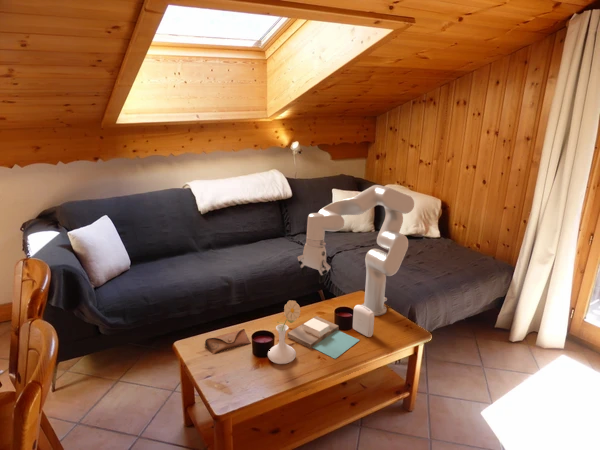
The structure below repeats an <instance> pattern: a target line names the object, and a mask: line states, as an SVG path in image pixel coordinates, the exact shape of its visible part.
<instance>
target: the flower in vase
mask: <svg viewBox="0 0 600 450" xmlns="http://www.w3.org/2000/svg"><path fill="white" fill-rule="evenodd" d="M283 309H284V310H283V312H284V315H283V316H285V318H286V319H285V320H284V321H285V322H279V321H277V322H276V323H277V324H278V325H276V326H275V330H276V331H277V333H278V343H277V344H275V345H273V346H272V347H271V348H270V349H269V350H270V351H269V350H268V351H267V358H268V359H269V360H270V361H271V362H273V363H274V364H278V365H285V364H288V363H291V362H293V361H294V360H295V358H296V357H297V352H296V350H295V349H294V348H293V347H292V346H291V345H289V344H287V343H286V334H287V331H288V330H289V326H288V325H287V324H286V323H287V322H288V323H290V324H292V323H294V322H295V321H297V319H299V318H300V316H301V311H302V310H301V307H300V305H299V304H298V303H297V301H296V300H288V301H287V303H286V304H284V308H283Z"/></svg>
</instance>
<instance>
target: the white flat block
mask: <svg viewBox="0 0 600 450" xmlns="http://www.w3.org/2000/svg"><path fill="white" fill-rule="evenodd" d="M312 318H313V319H312ZM312 318H310V319H311V320H310V319H309V320H307V321H308V322H307V321H305V322H306V323H305V322H303V323H304V324H303V323H302V324H303V330H304V331H307V332H309V333H311V334H313V335H315V336H317V337H321V336H323V335H324V334H326V333H327V332H329V325H328V324H326V323H324V322H321V321H319V320H317V319H315V318H314V317H312Z"/></svg>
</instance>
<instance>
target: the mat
mask: <svg viewBox="0 0 600 450" xmlns="http://www.w3.org/2000/svg"><path fill="white" fill-rule="evenodd" d="M360 340H361V339H359V338H357V337H353V336H352V335H350V334H347V333H345V332H343V331H341V330H336V331H335V332H334V333H332V334H331V335H329V336H328V337H326V338H325V339H323V340H322V341H320V342H319V343H317V344H316V345H314V346H313V347H312V348H311V349H314V350H316V351H317V352H320V353H322V354H324V355H326V356H328V357H330V358H332V359H334V360H336V359H338V358H339V357H341V356H342V355H343V354H344V353H345V352H347V351H348V350H349V349H350V348H352V347H353V346H355V345H356V344H357V343H359V342H360Z"/></svg>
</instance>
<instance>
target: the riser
mask: <svg viewBox="0 0 600 450" xmlns="http://www.w3.org/2000/svg"><path fill="white" fill-rule="evenodd" d="M313 318H315V319H317V320H319V321H321V322H324V323H326V324H328V325H329V332H327V333H326V334H324V335H323V336H321V337H317V336H315V335H313V334H311V333H309V332H307V331H304V330H303V324H304V323H306V322H308V321H309V320H311V319H313ZM309 320H307V321H305V322H303V323H302V324H300V325H299V326H297V327H296V328H293V329H291V330H290V331H288V332H287V338H289V339H291V340H293V341H295V342H297V343H299V344H301V345H303V346H305V347H307V348H308V349H313V348H312V347H313V346H314V345H316V344H317V343H319V342H320V341H322V340H323V339H325V338H326V337H328V336H329V335H331V334H332V333H334V332H335V331H336V330H338V331H340V329H339V325H338V324H335V323H333V322H331V321H329V320H327V319H324V318H322V317H320V316H318V315H316V316H314V317H312V318H310V319H309Z"/></svg>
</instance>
